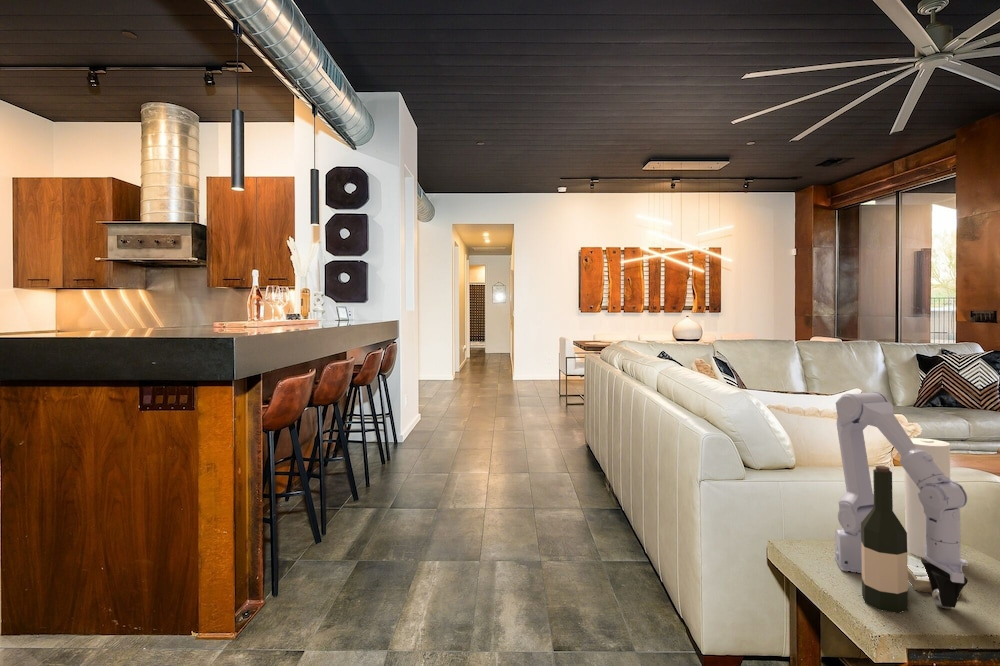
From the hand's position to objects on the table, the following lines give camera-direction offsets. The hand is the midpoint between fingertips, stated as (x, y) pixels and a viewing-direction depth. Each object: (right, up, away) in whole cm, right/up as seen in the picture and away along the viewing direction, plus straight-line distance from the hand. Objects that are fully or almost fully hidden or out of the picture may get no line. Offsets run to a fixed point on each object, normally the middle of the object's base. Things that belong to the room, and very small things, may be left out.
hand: (943, 600), depth 114 cm
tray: (+5, -1, +9) cm, 11 cm away
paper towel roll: (+18, -1, +26) cm, 32 cm away
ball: (0, +1, 0) cm, 1 cm away
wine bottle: (-11, -2, +2) cm, 11 cm away
